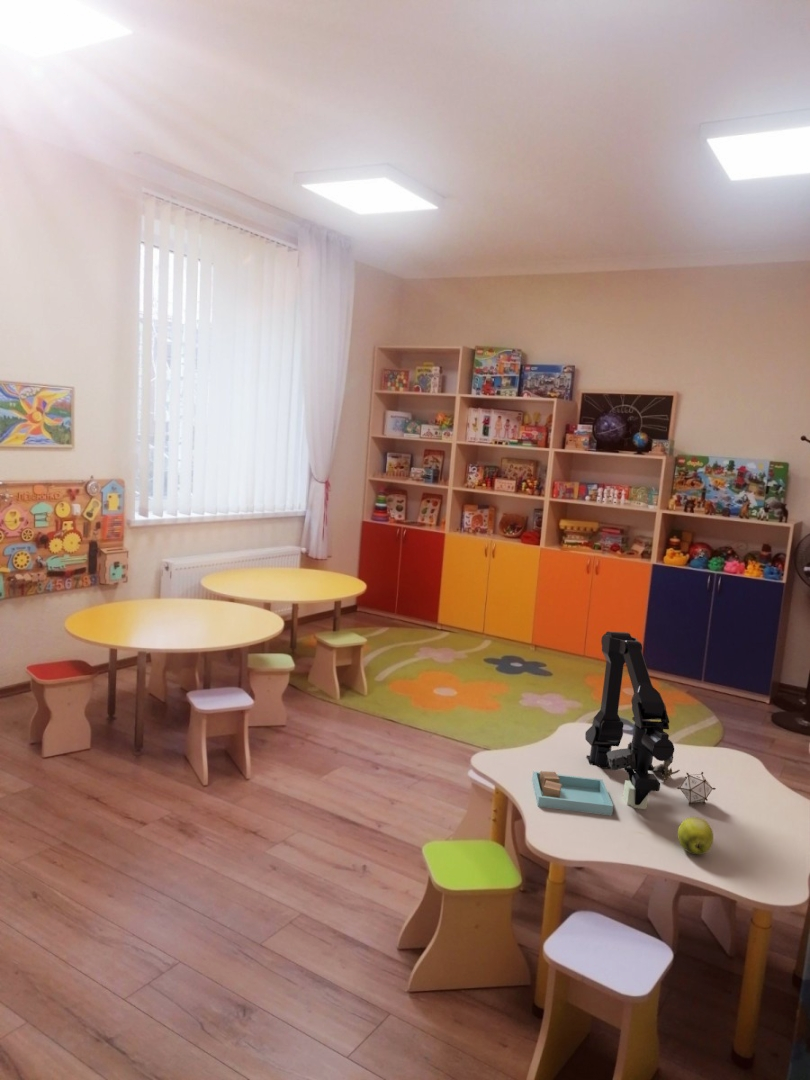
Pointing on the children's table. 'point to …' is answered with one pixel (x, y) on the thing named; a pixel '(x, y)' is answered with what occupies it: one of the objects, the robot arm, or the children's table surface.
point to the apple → (695, 835)
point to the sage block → (632, 796)
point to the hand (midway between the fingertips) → (634, 799)
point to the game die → (696, 788)
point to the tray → (576, 795)
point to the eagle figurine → (666, 768)
